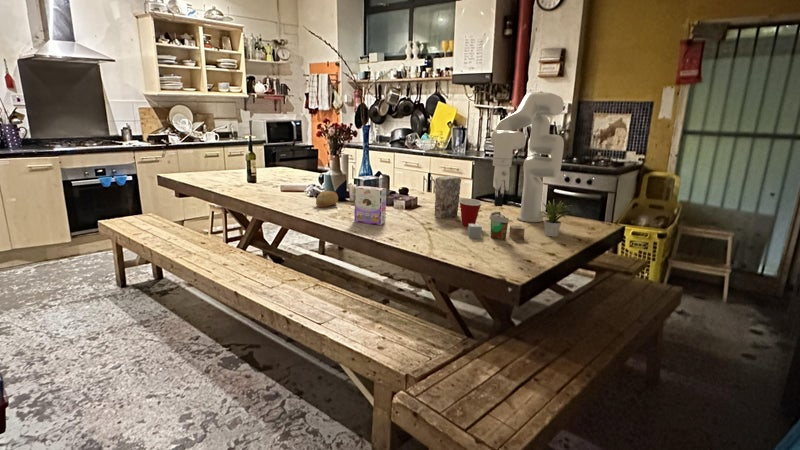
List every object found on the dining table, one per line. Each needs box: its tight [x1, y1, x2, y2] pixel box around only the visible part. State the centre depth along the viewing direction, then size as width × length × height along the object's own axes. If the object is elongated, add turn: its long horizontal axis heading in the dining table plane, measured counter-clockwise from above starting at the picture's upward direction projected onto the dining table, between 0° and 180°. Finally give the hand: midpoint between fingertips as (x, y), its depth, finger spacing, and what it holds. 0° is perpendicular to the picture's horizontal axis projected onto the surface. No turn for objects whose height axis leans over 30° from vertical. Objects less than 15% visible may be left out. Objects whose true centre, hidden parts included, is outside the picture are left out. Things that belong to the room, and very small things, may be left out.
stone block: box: [434, 175, 462, 220], centre depth 228 cm, size 13×7×20 cm, turn 137°
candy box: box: [353, 185, 387, 226], centre depth 211 cm, size 14×6×16 cm, turn 65°
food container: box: [489, 211, 510, 241], centre depth 195 cm, size 12×6×10 cm, turn 5°
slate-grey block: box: [467, 223, 483, 239], centre depth 195 cm, size 5×5×5 cm
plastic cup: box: [459, 197, 483, 228], centre depth 212 cm, size 11×11×12 cm
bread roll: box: [315, 190, 339, 208], centre depth 244 cm, size 10×15×8 cm, turn 155°
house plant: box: [540, 198, 573, 238], centre depth 200 cm, size 14×14×16 cm
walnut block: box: [508, 224, 526, 241], centre depth 195 cm, size 5×5×5 cm
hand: (498, 205), depth 193 cm, fingers closed
